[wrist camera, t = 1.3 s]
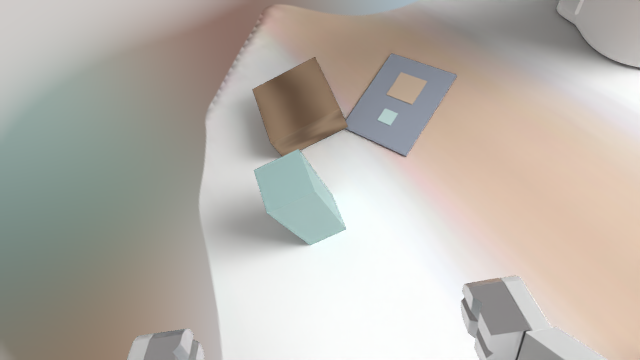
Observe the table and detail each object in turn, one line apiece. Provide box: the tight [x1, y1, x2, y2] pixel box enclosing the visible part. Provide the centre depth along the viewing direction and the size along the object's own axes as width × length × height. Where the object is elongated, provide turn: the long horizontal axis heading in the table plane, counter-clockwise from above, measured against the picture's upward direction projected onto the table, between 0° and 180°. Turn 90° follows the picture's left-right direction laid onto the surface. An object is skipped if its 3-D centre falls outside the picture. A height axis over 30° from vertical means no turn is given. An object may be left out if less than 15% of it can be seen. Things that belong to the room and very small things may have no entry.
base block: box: [253, 57, 348, 157], centre depth 47 cm, size 9×9×4 cm
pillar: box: [254, 149, 346, 245], centre depth 38 cm, size 4×4×12 cm
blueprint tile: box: [345, 53, 457, 156], centre depth 46 cm, size 12×9×1 cm
